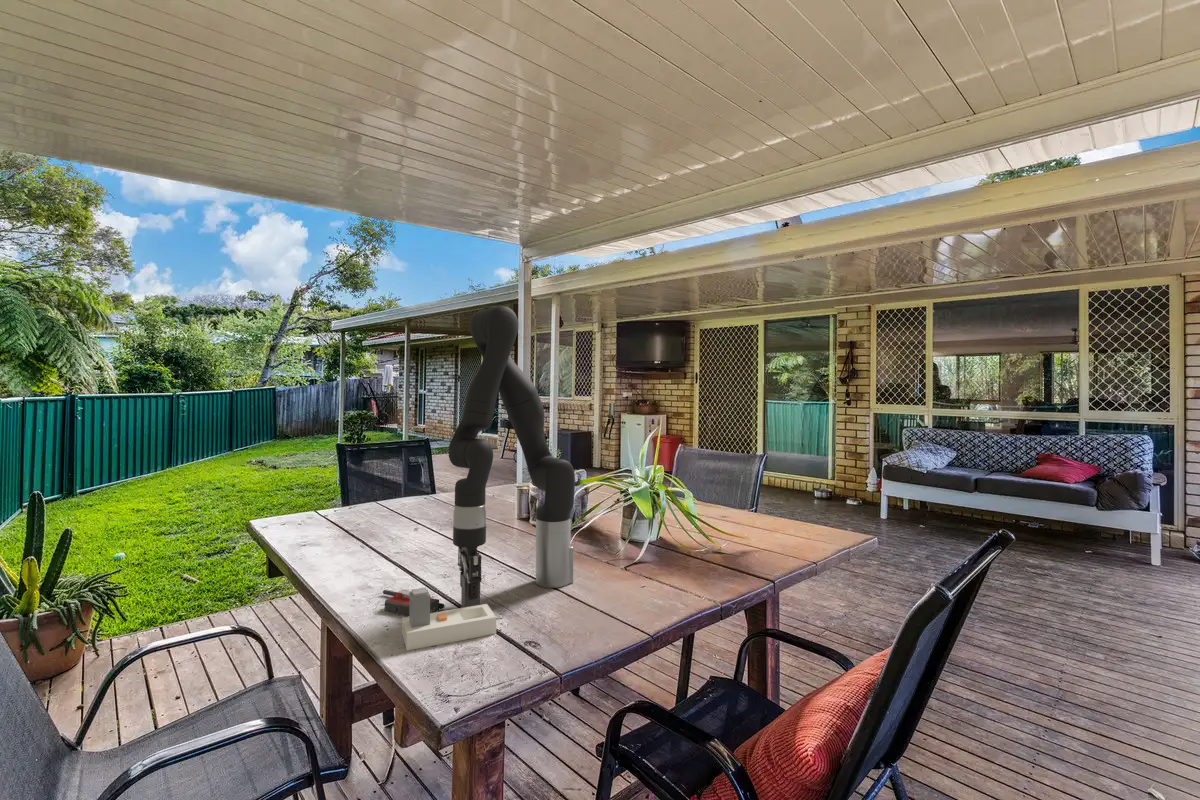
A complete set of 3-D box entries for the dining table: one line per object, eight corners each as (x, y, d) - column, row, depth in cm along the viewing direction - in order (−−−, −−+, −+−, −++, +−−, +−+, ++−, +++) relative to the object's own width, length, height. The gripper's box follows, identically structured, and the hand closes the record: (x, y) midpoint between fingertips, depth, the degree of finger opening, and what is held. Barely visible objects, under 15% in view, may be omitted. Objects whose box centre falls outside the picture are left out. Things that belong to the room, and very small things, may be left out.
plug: (476, 605, 132) (476, 569, 132) (480, 611, 129) (480, 574, 129) (461, 608, 131) (461, 571, 131) (464, 613, 128) (464, 576, 127)
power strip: (486, 619, 125) (486, 574, 124) (496, 633, 117) (496, 586, 117) (402, 634, 117) (402, 586, 117) (406, 650, 110) (406, 599, 109)
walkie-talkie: (451, 608, 132) (386, 595, 140) (451, 590, 132) (386, 578, 140) (425, 622, 124) (358, 608, 132) (425, 603, 124) (358, 589, 132)
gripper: (493, 529, 125) (492, 601, 125) (478, 516, 138) (477, 581, 138) (459, 532, 122) (458, 605, 122) (447, 518, 135) (447, 585, 135)
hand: (468, 592), depth 130 cm, fingers open, 8 cm apart
